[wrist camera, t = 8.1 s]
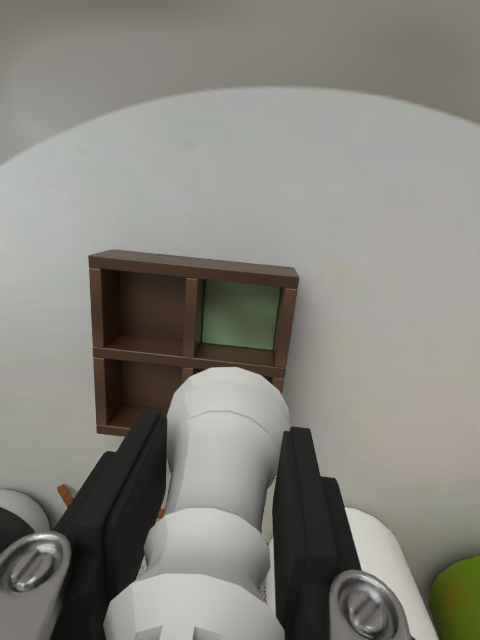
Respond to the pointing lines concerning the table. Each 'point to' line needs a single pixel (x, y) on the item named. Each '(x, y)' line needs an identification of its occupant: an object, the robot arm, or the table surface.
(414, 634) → the can
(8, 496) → the dark grey rounded dome
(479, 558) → the apple
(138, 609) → the rook chess piece
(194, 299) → the rack
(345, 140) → the table surface
